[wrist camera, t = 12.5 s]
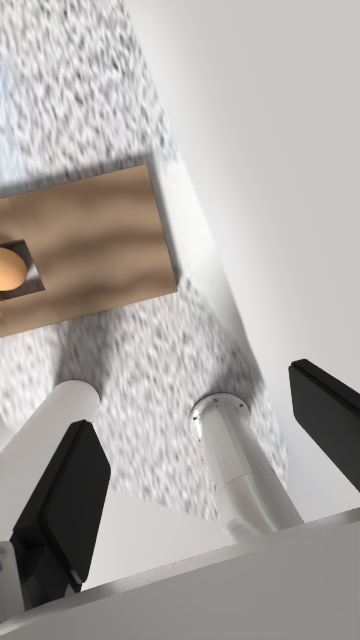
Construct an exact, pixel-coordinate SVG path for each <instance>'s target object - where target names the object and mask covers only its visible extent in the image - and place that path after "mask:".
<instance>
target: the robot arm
mask: <svg viewBox="0 0 360 640" xmlns="http://www.w3.org/2000/svg"><path fill="white" fill-rule="evenodd" d="M288 369H289V378H290V387H291V395H292V404H293V413H294V416H295V419H296V420H297V422H298V423H299V424H300V425H301V426H302V428H303V429H304V430H305V431H306V432H307V433H308V434H309V435H310V437H311V438H312V439H313V440H314V441H315V442H316V443H317V445H319V447H320V448H321V449H322V450H323V451H324V453H325V454H326V455H327V456H328V457H329V458H330V459H331V460H332V462H334V464H335V465H336V466H337V467H338V468H339V469H340V471H341V472H342V473H343V474H344V475H345V476H346V477H347V479H348V480H349V481H350V482H351V483H352V484H353V485H354V486H355V488H356V489H357V490H358V491H359V492H360V394H359V393H358V392H356V391H354V390H353V389H351V388H350V387H348V386H347V385H345V384H344V383H342V382H341V381H339V380H338V379H336V378H335V377H333V376H331V375H330V374H328V373H327V372H325V371H323V370H322V369H321V368H319V367H317V366H316V365H314V364H313V363H311V362H310V361H308V360H307V359H301V360H297V361H294V362H292V363H291V366H289V368H288ZM250 421H251V415H250V411H249V409H248V407H247V405H246V404H245V403H244V401H243V400H241V399H240V398H239V397H237V396H235V395H232V394H228V393H217V394H213V395H210V396H208V397H206V398H204V399H202V400H201V401H200V402H199V403H198V404H197V405H196V406H195V407H194V408H193V410H192V412H191V414H190V418H189V427H190V431H191V434H192V436H193V438H194V439H195V440H196V441H197V442H198V443H199V444H201V445H202V449H203V453H204V457H205V462H206V466H207V470H208V474H209V478H210V482H211V487H212V491H213V495H214V499H215V503H216V508H217V512H218V516H219V519H220V523H221V526H222V528H223V530H224V532H225V534H226V536H227V537H228V539H229V540H230V542H231V543H232V544H233V545H230V546H227V547H224V548H221V549H217V550H214V551H211V552H207V553H204V554H201V555H198V556H194V557H191V558H188V559H184V560H181V561H178V562H175V563H171V564H168V565H165V566H161V567H158V568H155V569H152V570H148V571H145V572H142V573H139V574H135V575H133V576H129V577H126V578H123V579H119V580H116V581H113V582H109V583H106V584H103V585H100V586H97V587H94V588H91V589H88V590H85V591H82V592H80V591H81V587H82V583H84V582H85V581H86V580H87V577H88V574H89V569H90V565H91V560H92V556H93V552H94V547H95V543H96V538H97V534H98V529H99V524H100V520H101V516H102V511H103V507H104V502H105V498H106V494H107V489H108V485H109V480H110V476H111V468H110V464H109V462H108V460H107V458H106V455H105V453H104V451H103V448H102V446H101V444H100V442H99V439H98V437H97V435H96V432H95V430H94V428H93V425H92V423H91V422H87V420H85V419H83V420H80V421H76V422H73V423H71V424H70V425H69V427H68V429H67V431H66V433H65V434H64V436H63V438H62V440H61V442H60V443H59V445H58V447H57V449H56V451H55V453H54V454H53V456H52V458H51V460H50V462H49V464H48V465H47V467H46V469H45V471H44V473H43V474H42V476H41V478H40V480H39V482H38V484H37V485H36V487H35V489H34V491H33V493H32V495H31V496H30V498H29V500H28V502H27V504H26V506H25V507H24V509H23V511H22V513H21V515H20V516H19V518H18V520H17V522H16V524H15V526H14V527H13V529H12V531H13V534H12V536H11V537H10V539H9V541H1V542H0V640H360V508H356V509H352V510H349V511H345V512H342V513H339V514H335V515H332V516H328V517H325V518H322V519H318V520H315V521H311V522H308V523H304V521H303V520H302V518H301V516H300V515H299V513H298V511H297V510H296V508H295V507H294V505H293V503H292V501H291V499H290V498H289V496H288V494H287V492H286V490H285V489H284V487H283V485H282V483H281V482H280V480H279V478H278V476H277V474H276V473H275V471H274V469H273V467H272V466H271V464H270V462H269V460H268V458H267V457H266V455H265V453H264V451H263V449H262V448H261V446H260V444H259V442H258V441H257V439H256V437H255V435H254V433H253V432H252V430H251V428H250Z"/></svg>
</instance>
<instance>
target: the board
mask: <svg viewBox="0 0 360 640" xmlns="http://www.w3.org/2000/svg"><path fill="white" fill-rule="evenodd" d="M23 242H26V245H27V247H28V249H29V252H30V254H31V257H32V259H33V261H34V264H35V266H36V268H37V271H38V273H39V276H40V278H41V280H42V283H43V285H44V287H45V290H43V291H39V292H35V293H32V294H28V295H24V296H20V297H16V298H12V299H8V300H7V298H6V296H5V294H4V292H3V291H0V338H2V337H5V336H9V335H13V334H17V333H21V332H25V331H28V330H32V329H36V328H40V327H44V326H48V325H52V324H55V323H59V322H63V321H67V320H71V319H75V318H78V317H82V316H86V315H90V314H94V313H98V312H101V311H105V310H109V309H113V308H117V307H121V306H125V305H128V304H132V303H136V302H140V301H144V300H148V299H151V298H155V297H159V296H163V295H167V294H171V293H174V292H178V289H177V285H176V281H175V277H174V273H173V269H172V265H171V261H170V257H169V253H168V249H167V245H166V241H165V237H164V233H163V229H162V225H161V221H160V217H159V213H158V209H157V205H156V201H155V197H154V193H153V188H152V184H151V180H150V176H149V172H148V168H147V164H144V165H140V166H136V167H131V168H127V169H123V170H119V171H115V172H111V173H106V174H102V175H98V176H94V177H90V178H85V179H81V180H77V181H73V182H69V183H65V184H60V185H56V186H52V187H48V188H44V189H40V190H35V191H31V192H27V193H23V194H19V195H15V196H10V197H6V198H2V199H0V247H1V248H3V247H7V246H11V245H15V244H19V243H23Z"/></svg>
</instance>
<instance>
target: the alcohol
mask: <svg viewBox="0 0 360 640" xmlns="http://www.w3.org/2000/svg"><path fill="white" fill-rule="evenodd" d="M99 406H100V398H99V395H98V393H97V392H96V390H95V389H94V388H93V387H92V386H91V385H90V384H88V383H86V382H83V381H78V380H71V381H66V382H63V383H61V384H59V385H57V386H56V387H55V388H54V389H53V390H52V392H51V393H50V394H49V395H48V396H47V398H46V399H45V400H44V401H43V402H42V404H41V405H40V406H39V407H38V408H37V410H36V411H35V412H34V413H33V414H32V416H31V417H30V418H29V419H28V420H27V422H26V423H25V424H24V425H23V426H22V428H21V429H20V430H19V431H18V432H17V434H16V435H15V436H14V437H13V439H12V440H11V441H10V442H9V443H8V445H7V446H6V447H5V448H4V449H3V450H2V452H1V453H0V542H1V541H9V539H10V537H11V536H12V534H13V531H12V529H13V527H14V526H15V524H16V522H17V520H18V518H19V516H20V515H21V513H22V511H23V509H24V507H25V506H26V504H27V502H28V500H29V498H30V496H31V495H32V493H33V491H34V489H35V487H36V485H37V484H38V482H39V480H40V478H41V476H42V474H43V473H44V471H45V469H46V467H47V465H48V464H49V462H50V460H51V458H52V456H53V454H54V453H55V451H56V449H57V447H58V445H59V443H60V442H61V440H62V438H63V436H64V434H65V433H66V431H67V429H68V427H69V425H70V424H71V423H73V422H76V421H80V420H83V419H85V420H87V422H91V423H92V424H93V422H94V420H95V417H96V415H97V412H98V410H99Z"/></svg>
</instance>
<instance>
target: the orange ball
mask: <svg viewBox="0 0 360 640" xmlns="http://www.w3.org/2000/svg"><path fill="white" fill-rule="evenodd" d="M26 277H27V267H26V265H25V262H24V261H23V260H22V258H21V257H20V256H19V255H17V254H16V253H14V252H13V251H11V250H9V249H6V248H1V247H0V291H7V290H12V289H15V288H17V287H19V286H20V285H22V284H23V282H24V281H25V279H26Z"/></svg>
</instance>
